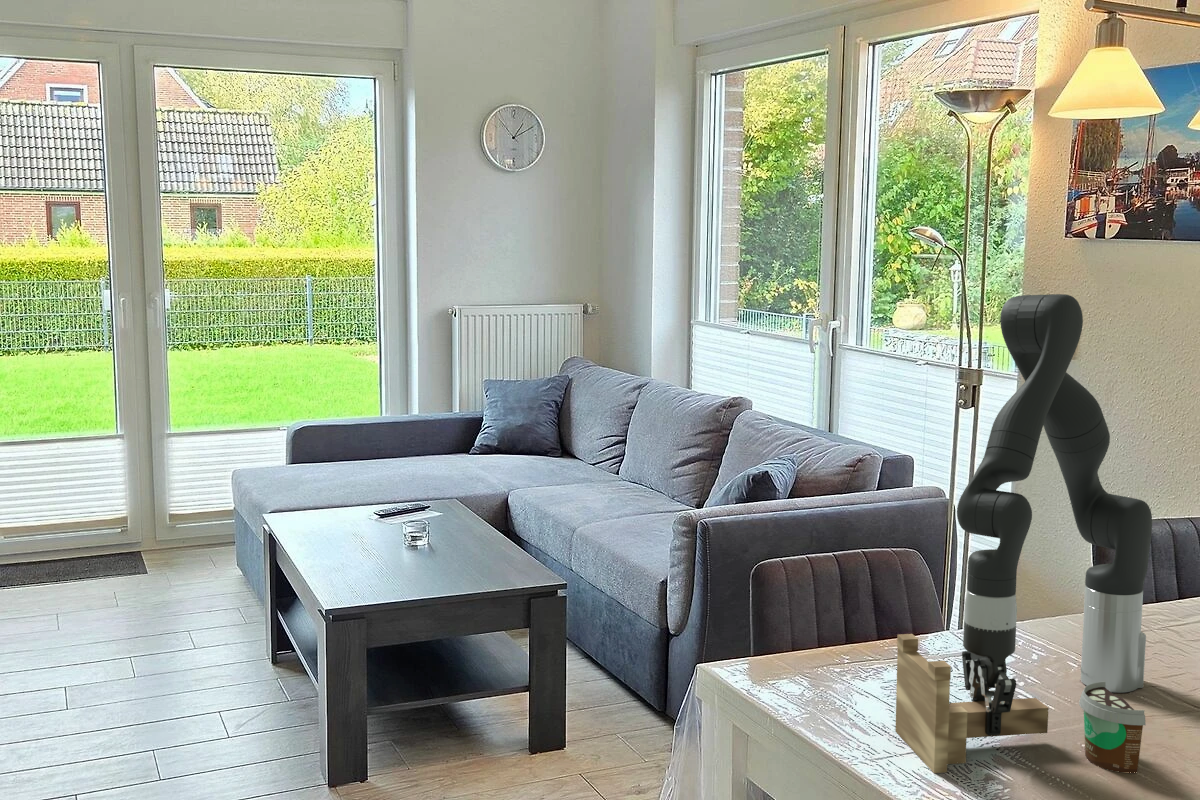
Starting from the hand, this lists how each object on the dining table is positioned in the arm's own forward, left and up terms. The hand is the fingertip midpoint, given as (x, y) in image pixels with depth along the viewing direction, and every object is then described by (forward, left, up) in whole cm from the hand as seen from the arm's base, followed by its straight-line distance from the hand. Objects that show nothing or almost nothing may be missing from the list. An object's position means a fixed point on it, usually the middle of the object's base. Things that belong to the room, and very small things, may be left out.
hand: (985, 727), depth 184 cm
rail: (0, 0, -1) cm, 1 cm away
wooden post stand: (+8, 0, -3) cm, 9 cm away
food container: (-15, +7, -3) cm, 17 cm away
